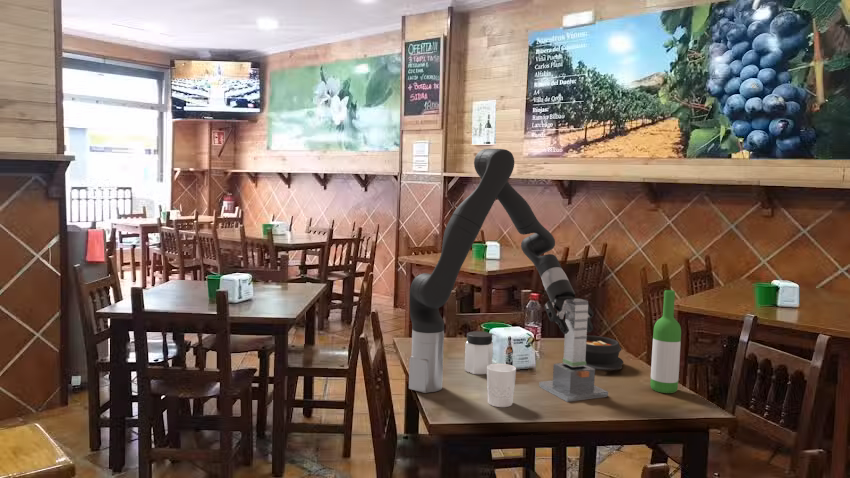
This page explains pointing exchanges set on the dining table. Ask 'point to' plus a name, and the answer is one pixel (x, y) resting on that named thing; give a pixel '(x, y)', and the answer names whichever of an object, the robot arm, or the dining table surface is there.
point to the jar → (478, 352)
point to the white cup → (500, 384)
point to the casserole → (603, 353)
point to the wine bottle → (666, 349)
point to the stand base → (573, 383)
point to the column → (576, 332)
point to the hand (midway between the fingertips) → (578, 331)
